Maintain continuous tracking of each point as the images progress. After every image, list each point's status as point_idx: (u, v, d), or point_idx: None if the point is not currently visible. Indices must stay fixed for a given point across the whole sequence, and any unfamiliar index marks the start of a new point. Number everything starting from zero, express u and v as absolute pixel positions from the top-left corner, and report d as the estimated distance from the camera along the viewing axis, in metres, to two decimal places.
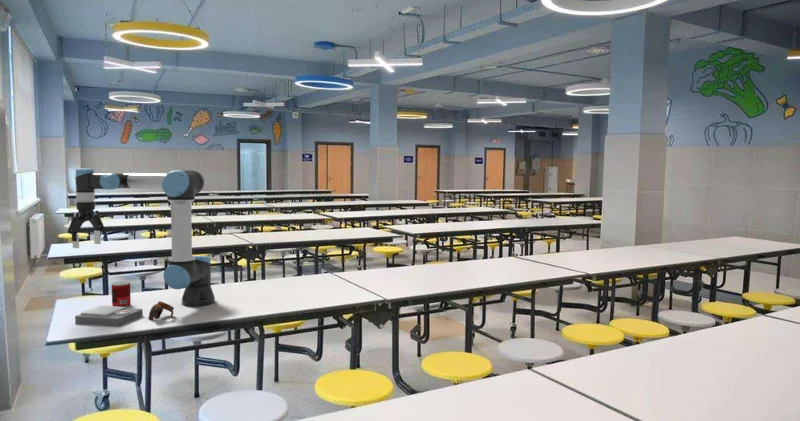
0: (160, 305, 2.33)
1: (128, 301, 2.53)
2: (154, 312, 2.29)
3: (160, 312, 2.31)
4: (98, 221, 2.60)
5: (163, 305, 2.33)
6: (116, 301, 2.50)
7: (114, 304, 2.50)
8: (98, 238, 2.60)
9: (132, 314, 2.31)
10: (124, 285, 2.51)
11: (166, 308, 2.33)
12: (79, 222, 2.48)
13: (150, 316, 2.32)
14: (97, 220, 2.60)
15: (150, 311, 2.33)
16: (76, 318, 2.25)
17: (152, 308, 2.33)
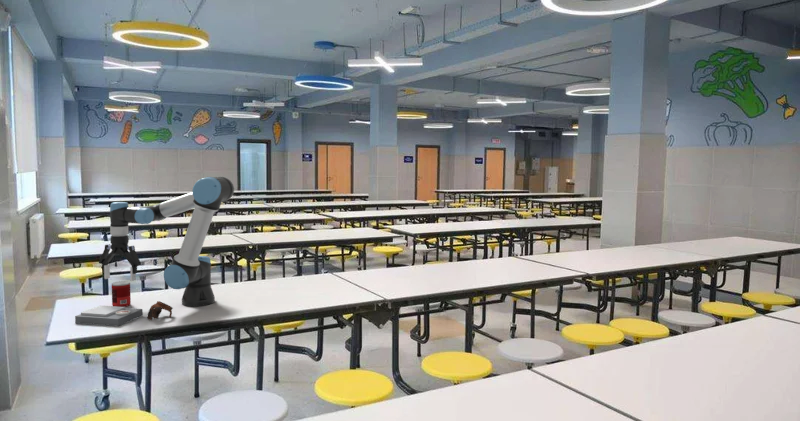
0: (159, 305, 2.33)
1: (128, 301, 2.53)
2: (153, 312, 2.29)
3: (159, 312, 2.31)
4: None
5: (162, 305, 2.33)
6: (116, 301, 2.50)
7: (114, 304, 2.50)
8: None
9: (132, 314, 2.31)
10: (124, 285, 2.51)
11: (165, 308, 2.34)
12: None
13: (149, 316, 2.32)
14: None
15: (149, 311, 2.33)
16: (76, 318, 2.25)
17: (151, 308, 2.33)
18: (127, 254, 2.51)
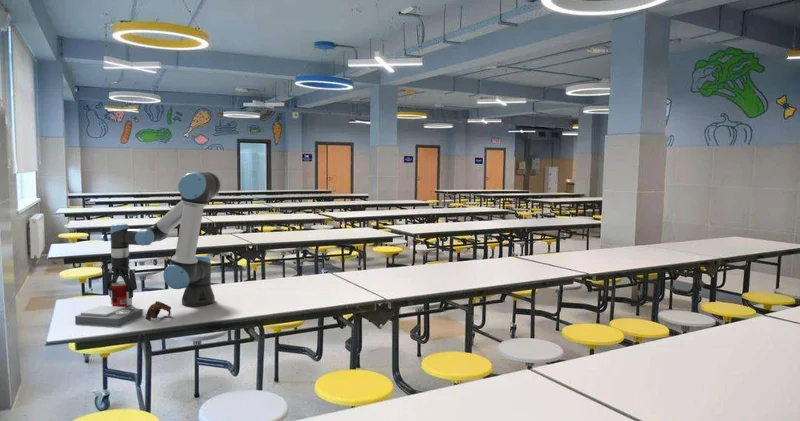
0: (157, 305, 2.33)
1: None
2: (152, 312, 2.29)
3: (157, 312, 2.32)
4: None
5: (160, 305, 2.34)
6: (116, 301, 2.50)
7: (114, 304, 2.50)
8: None
9: (132, 314, 2.31)
10: (124, 285, 2.51)
11: (163, 308, 2.34)
12: None
13: (147, 316, 2.32)
14: None
15: (147, 311, 2.33)
16: (76, 318, 2.25)
17: (149, 308, 2.33)
18: (126, 277, 2.52)
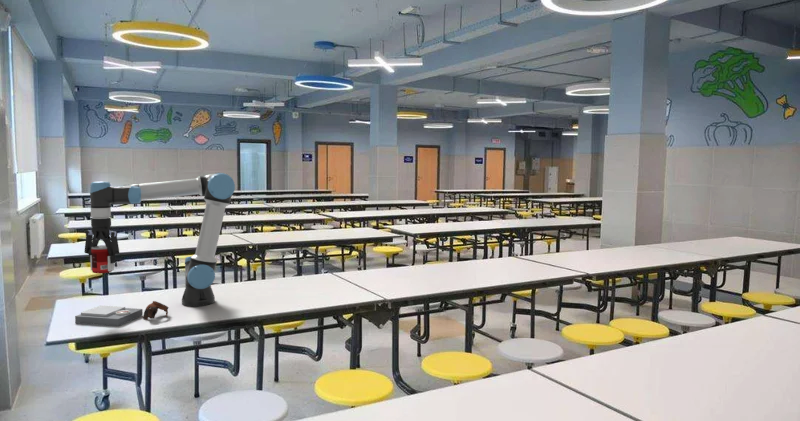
0: (155, 305, 2.34)
1: None
2: (149, 312, 2.29)
3: (155, 312, 2.32)
4: None
5: (158, 305, 2.34)
6: (95, 266, 2.27)
7: (94, 269, 2.27)
8: None
9: (132, 314, 2.31)
10: (105, 249, 2.28)
11: (161, 308, 2.34)
12: None
13: (145, 316, 2.32)
14: None
15: (145, 311, 2.34)
16: (76, 318, 2.25)
17: (147, 308, 2.33)
18: (108, 240, 2.29)
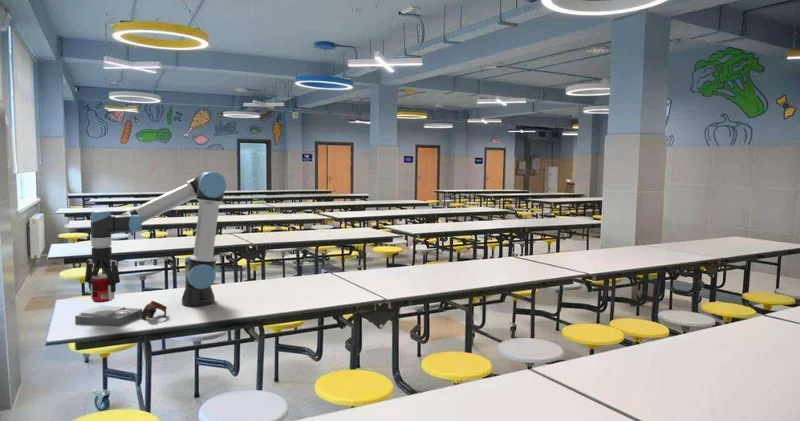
0: (153, 305, 2.34)
1: None
2: (147, 312, 2.29)
3: (153, 311, 2.32)
4: None
5: (156, 304, 2.34)
6: (96, 295, 2.27)
7: (94, 299, 2.28)
8: None
9: (132, 314, 2.31)
10: (106, 278, 2.28)
11: (159, 307, 2.34)
12: None
13: (143, 316, 2.33)
14: None
15: (143, 311, 2.34)
16: (76, 318, 2.25)
17: (145, 308, 2.34)
18: (108, 269, 2.30)
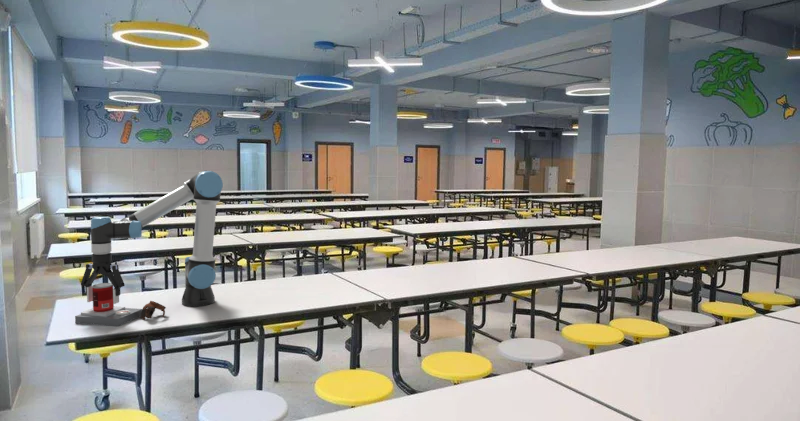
0: (152, 304, 2.34)
1: (110, 305, 2.31)
2: (146, 311, 2.29)
3: (152, 311, 2.32)
4: None
5: (155, 304, 2.34)
6: (97, 305, 2.28)
7: (95, 308, 2.28)
8: None
9: (132, 314, 2.31)
10: (106, 287, 2.29)
11: (158, 307, 2.34)
12: None
13: (142, 315, 2.33)
14: None
15: (142, 311, 2.34)
16: (76, 318, 2.25)
17: (144, 308, 2.34)
18: (110, 274, 2.30)
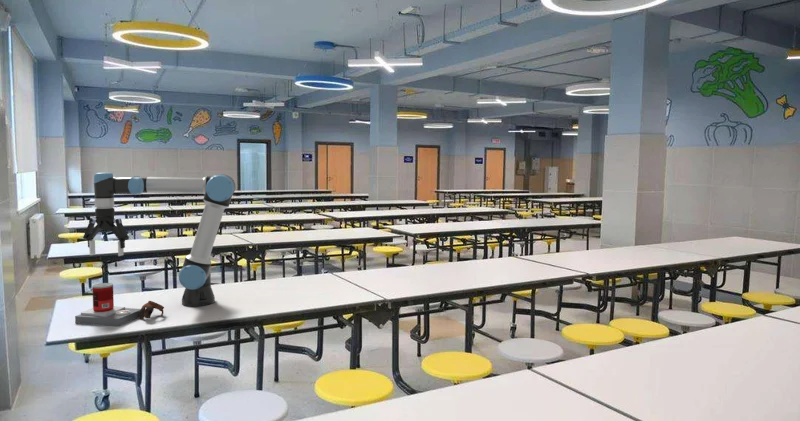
0: (150, 304, 2.34)
1: (110, 305, 2.31)
2: (145, 311, 2.29)
3: (151, 311, 2.32)
4: None
5: (153, 304, 2.34)
6: (97, 305, 2.28)
7: (95, 308, 2.28)
8: None
9: (132, 314, 2.31)
10: (106, 287, 2.29)
11: (157, 307, 2.34)
12: None
13: (140, 315, 2.33)
14: None
15: (140, 310, 2.34)
16: (76, 318, 2.25)
17: (142, 307, 2.34)
18: (114, 228, 2.37)
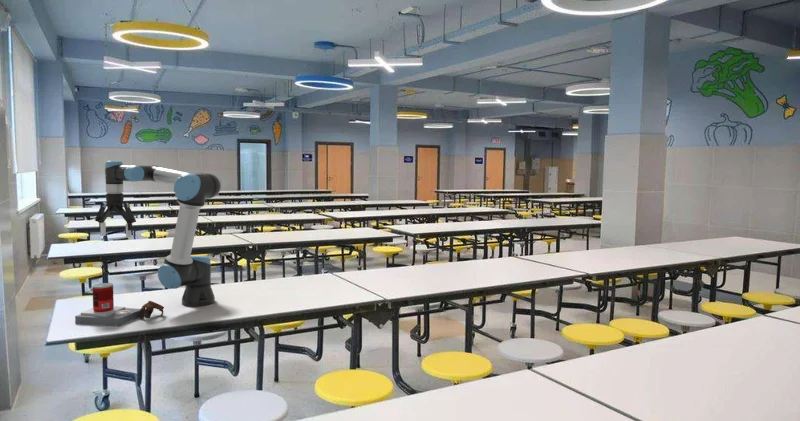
0: (150, 304, 2.34)
1: (110, 305, 2.31)
2: (145, 311, 2.29)
3: (151, 311, 2.32)
4: None
5: (153, 304, 2.34)
6: (97, 305, 2.28)
7: (95, 308, 2.28)
8: None
9: (132, 314, 2.31)
10: (106, 287, 2.29)
11: (156, 307, 2.34)
12: None
13: (140, 315, 2.33)
14: None
15: (140, 311, 2.34)
16: (76, 318, 2.25)
17: (142, 307, 2.34)
18: (122, 211, 2.59)
